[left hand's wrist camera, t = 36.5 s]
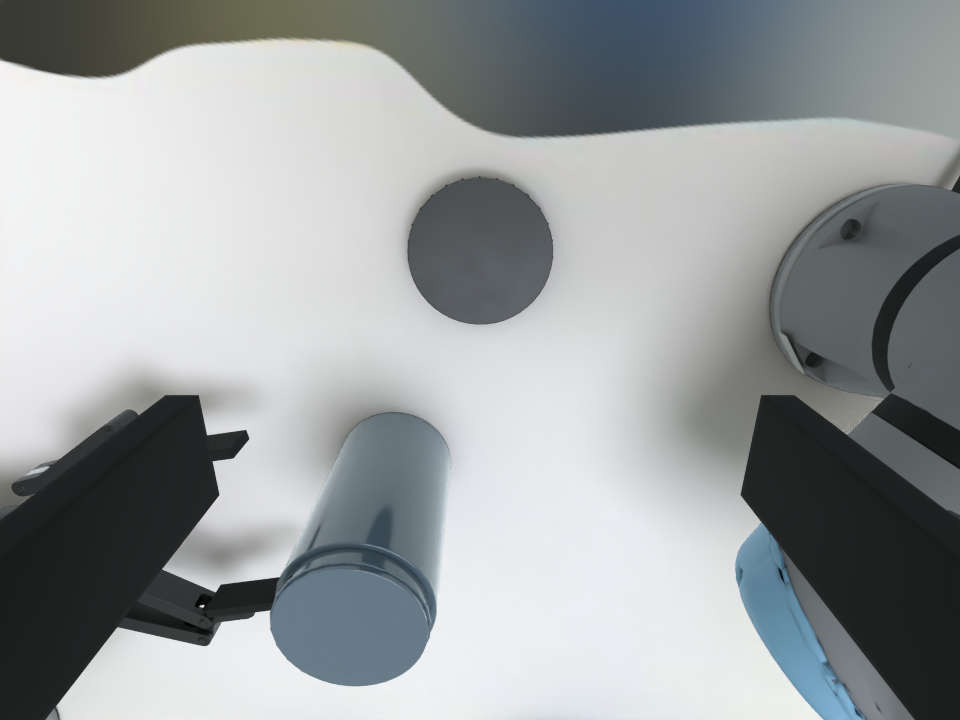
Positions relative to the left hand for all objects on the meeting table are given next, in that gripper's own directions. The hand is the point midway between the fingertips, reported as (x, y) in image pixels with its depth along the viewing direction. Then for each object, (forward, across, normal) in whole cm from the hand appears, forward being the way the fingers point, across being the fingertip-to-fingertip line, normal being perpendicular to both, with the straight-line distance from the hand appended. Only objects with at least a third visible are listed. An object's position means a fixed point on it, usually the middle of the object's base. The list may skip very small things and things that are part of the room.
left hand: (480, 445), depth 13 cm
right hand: (+22, +16, +19) cm, 33 cm away
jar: (+28, +7, +18) cm, 34 cm away
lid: (+27, 0, 0) cm, 27 cm away
